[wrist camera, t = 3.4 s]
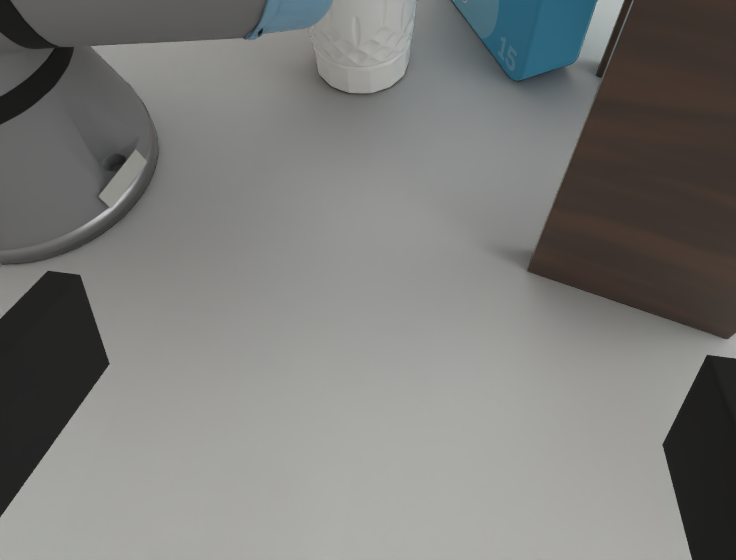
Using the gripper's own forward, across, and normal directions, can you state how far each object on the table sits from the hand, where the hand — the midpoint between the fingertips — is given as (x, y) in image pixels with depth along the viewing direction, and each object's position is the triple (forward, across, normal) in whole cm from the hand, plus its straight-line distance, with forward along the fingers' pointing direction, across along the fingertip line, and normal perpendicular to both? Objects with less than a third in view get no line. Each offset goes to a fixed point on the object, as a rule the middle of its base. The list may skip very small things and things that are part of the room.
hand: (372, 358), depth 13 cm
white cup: (+35, -6, -5) cm, 36 cm away
